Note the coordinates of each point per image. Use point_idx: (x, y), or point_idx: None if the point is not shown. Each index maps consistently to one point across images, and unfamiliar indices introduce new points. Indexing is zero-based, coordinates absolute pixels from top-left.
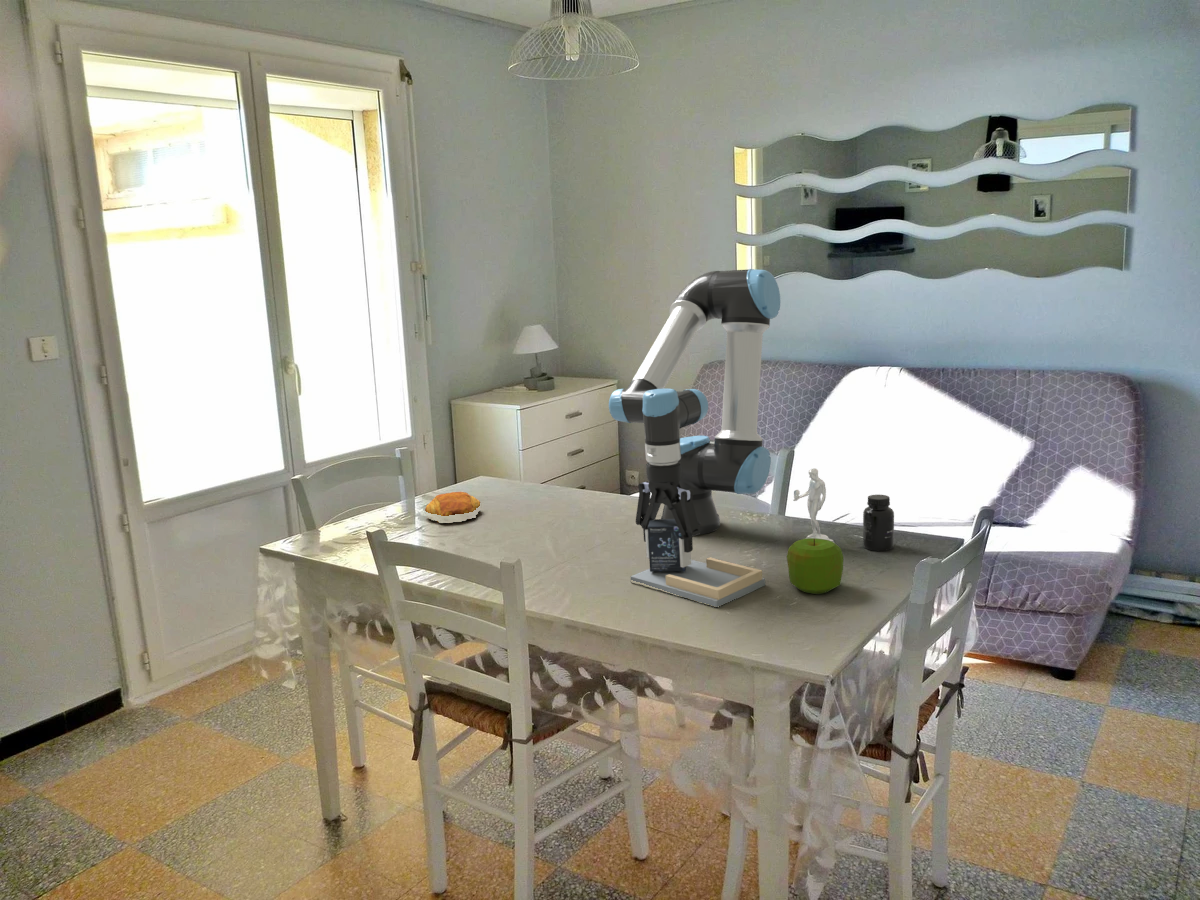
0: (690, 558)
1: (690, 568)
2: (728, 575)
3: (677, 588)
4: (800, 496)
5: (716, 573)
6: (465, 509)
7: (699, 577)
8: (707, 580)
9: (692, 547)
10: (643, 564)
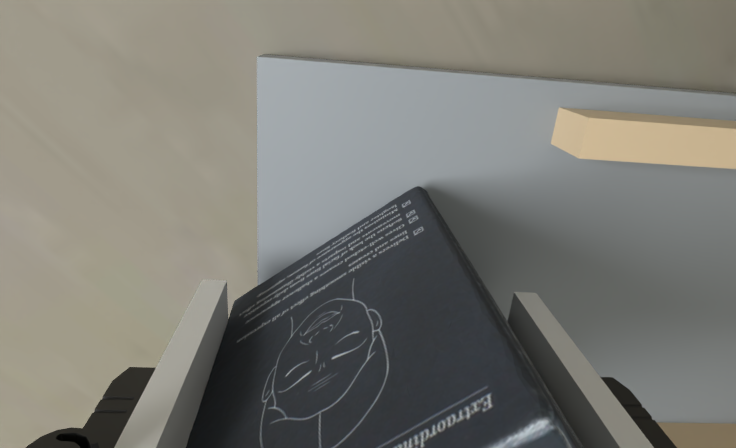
0: (551, 320)
1: (467, 210)
2: (731, 187)
3: None
4: None
5: (653, 198)
6: None
7: (588, 295)
8: (647, 306)
9: (636, 400)
10: (93, 204)
